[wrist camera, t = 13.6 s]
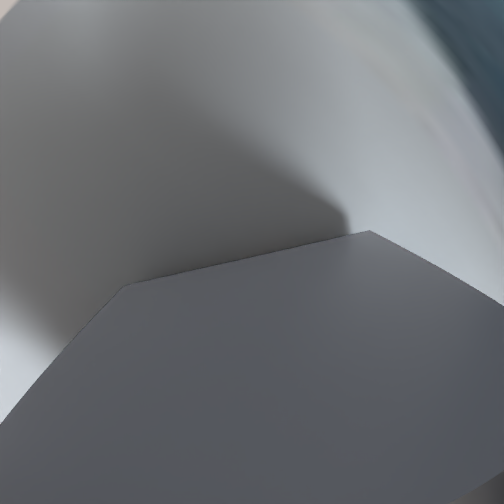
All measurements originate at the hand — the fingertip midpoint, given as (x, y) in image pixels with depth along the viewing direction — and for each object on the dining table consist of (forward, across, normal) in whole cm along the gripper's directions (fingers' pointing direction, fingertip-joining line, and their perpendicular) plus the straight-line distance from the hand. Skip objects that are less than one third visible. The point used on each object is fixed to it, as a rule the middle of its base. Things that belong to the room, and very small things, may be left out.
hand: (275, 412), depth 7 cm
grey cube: (+2, 0, 0) cm, 2 cm away
